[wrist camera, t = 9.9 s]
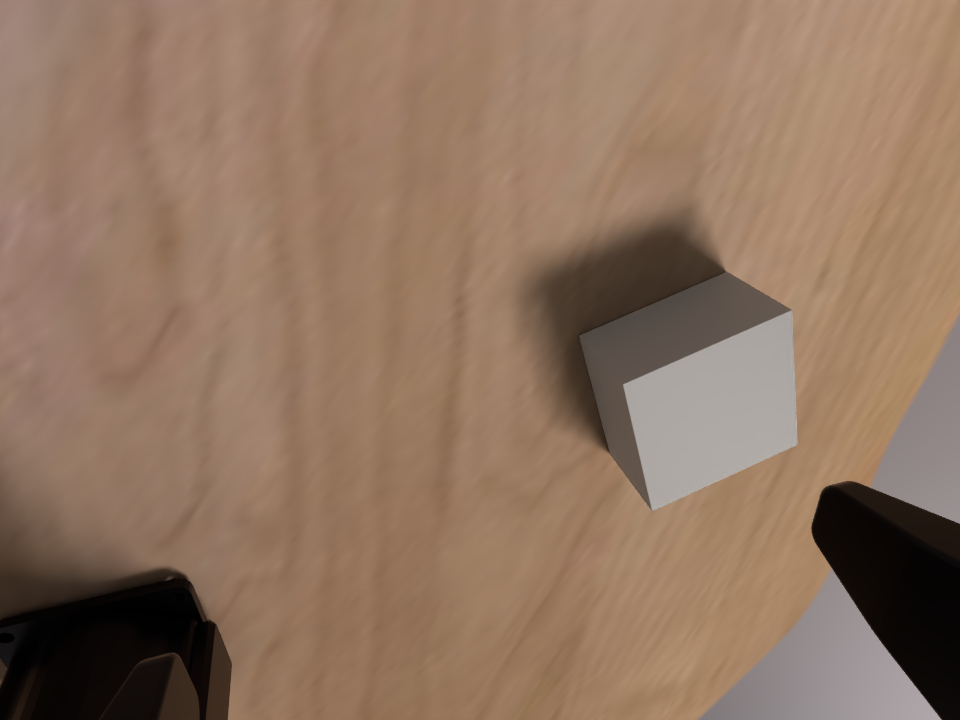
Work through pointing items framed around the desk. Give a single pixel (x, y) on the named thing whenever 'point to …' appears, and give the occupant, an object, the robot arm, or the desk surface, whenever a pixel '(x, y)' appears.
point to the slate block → (695, 386)
